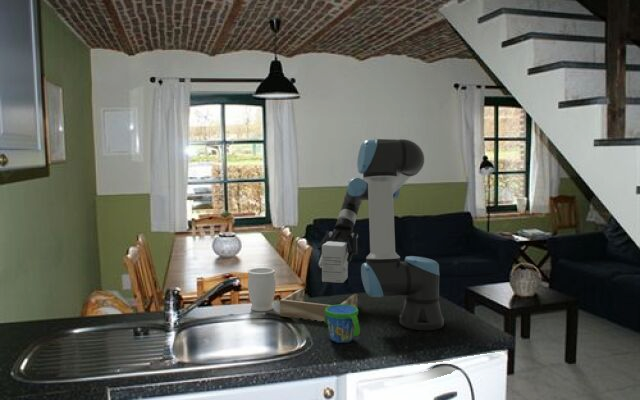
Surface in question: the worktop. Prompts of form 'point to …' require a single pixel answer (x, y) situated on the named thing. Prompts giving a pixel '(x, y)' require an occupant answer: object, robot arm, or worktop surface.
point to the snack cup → (342, 322)
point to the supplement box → (334, 262)
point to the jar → (261, 288)
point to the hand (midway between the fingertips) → (332, 267)
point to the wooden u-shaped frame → (307, 306)
